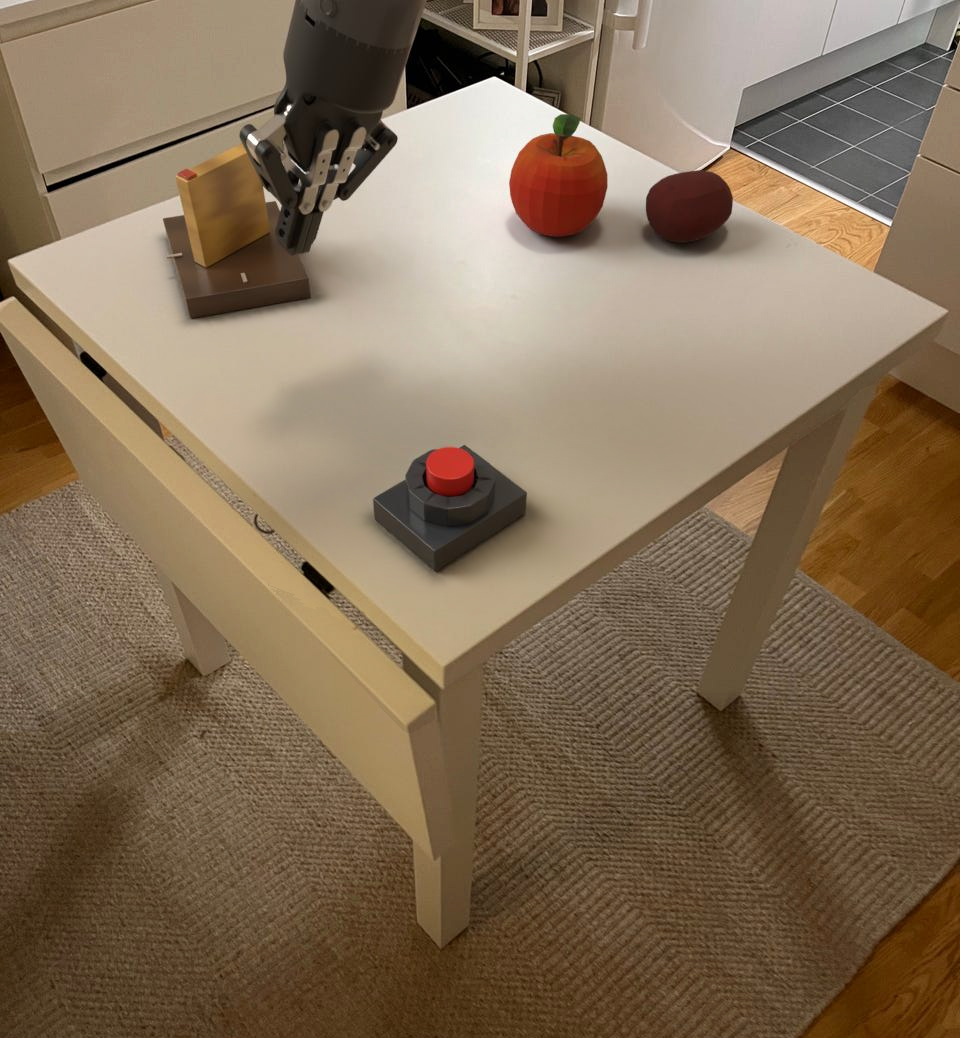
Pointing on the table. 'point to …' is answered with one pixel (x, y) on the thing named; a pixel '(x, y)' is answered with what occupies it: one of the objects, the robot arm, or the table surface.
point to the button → (450, 471)
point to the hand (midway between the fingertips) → (291, 247)
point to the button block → (448, 511)
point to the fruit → (558, 181)
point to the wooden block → (222, 205)
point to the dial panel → (237, 272)
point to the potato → (688, 205)
